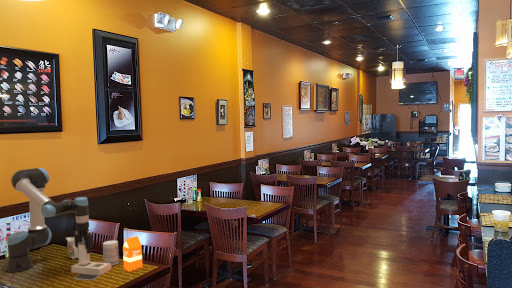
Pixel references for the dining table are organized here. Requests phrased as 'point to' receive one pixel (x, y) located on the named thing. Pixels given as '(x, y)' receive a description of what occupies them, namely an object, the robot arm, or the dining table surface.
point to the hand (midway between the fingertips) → (84, 258)
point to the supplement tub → (111, 252)
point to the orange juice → (132, 253)
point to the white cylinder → (82, 253)
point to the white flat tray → (91, 268)
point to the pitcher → (72, 248)
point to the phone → (86, 277)
